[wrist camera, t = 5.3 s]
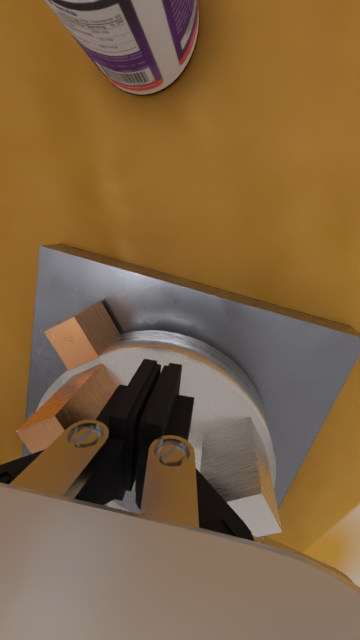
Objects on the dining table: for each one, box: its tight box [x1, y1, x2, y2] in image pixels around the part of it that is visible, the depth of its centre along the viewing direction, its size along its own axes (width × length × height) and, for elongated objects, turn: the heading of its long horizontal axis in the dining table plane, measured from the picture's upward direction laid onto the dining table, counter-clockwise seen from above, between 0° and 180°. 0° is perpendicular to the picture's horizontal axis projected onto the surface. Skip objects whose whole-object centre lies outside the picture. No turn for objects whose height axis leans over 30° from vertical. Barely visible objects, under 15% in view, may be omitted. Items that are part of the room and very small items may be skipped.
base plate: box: [22, 244, 360, 539], centre depth 17 cm, size 18×18×6 cm
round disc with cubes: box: [16, 301, 282, 537], centre depth 14 cm, size 15×13×7 cm
